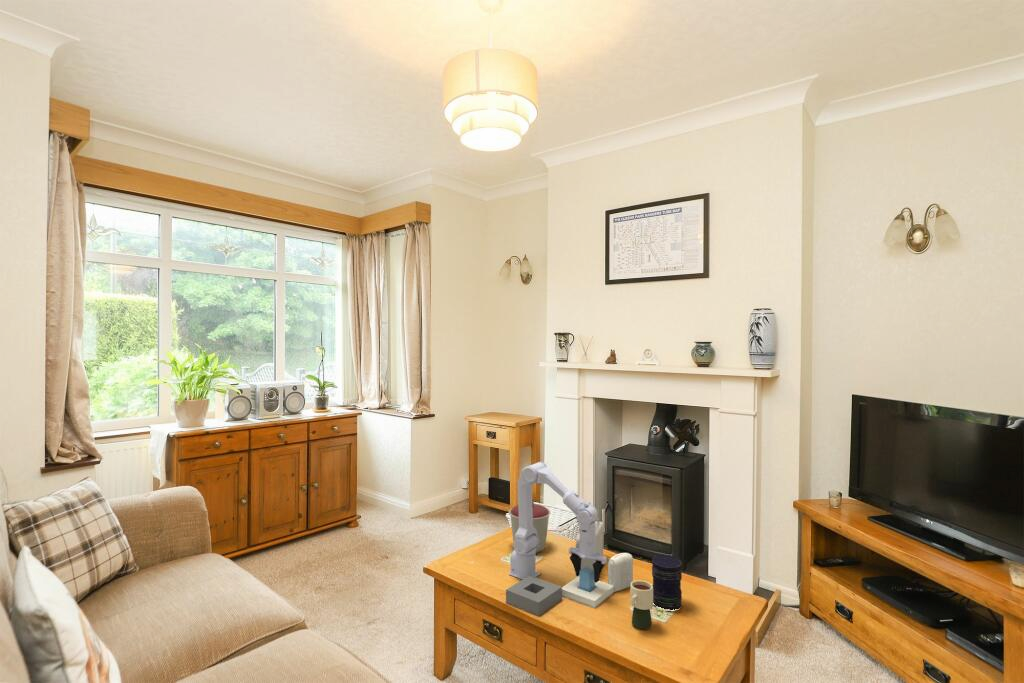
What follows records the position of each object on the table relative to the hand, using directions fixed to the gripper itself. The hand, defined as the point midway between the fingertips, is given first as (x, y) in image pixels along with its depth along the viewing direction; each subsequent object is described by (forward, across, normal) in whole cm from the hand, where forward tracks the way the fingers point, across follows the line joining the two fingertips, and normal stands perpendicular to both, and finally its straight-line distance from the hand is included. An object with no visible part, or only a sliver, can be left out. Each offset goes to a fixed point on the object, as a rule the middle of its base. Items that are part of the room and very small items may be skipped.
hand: (587, 578), depth 186 cm
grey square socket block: (+6, -12, -16) cm, 21 cm away
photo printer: (+6, +7, +12) cm, 15 cm away
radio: (+6, -11, +20) cm, 24 cm away
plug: (+5, 0, 0) cm, 5 cm away
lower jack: (+6, 0, 0) cm, 6 cm away
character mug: (+6, +24, -7) cm, 26 cm away
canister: (+6, -40, +19) cm, 45 cm away
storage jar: (+6, +25, +11) cm, 28 cm away
